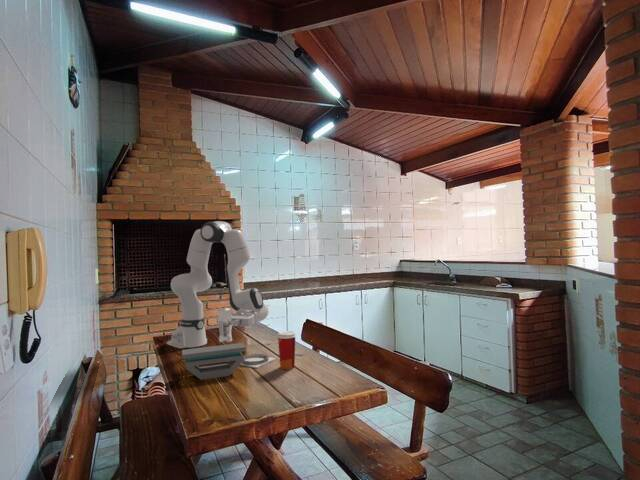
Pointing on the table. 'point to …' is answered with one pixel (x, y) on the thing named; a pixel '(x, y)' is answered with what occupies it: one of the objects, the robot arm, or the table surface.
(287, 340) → the coffee cup
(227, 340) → the steel tumbler
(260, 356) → the steel ring collar
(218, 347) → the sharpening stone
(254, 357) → the pale board
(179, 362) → the table surface
